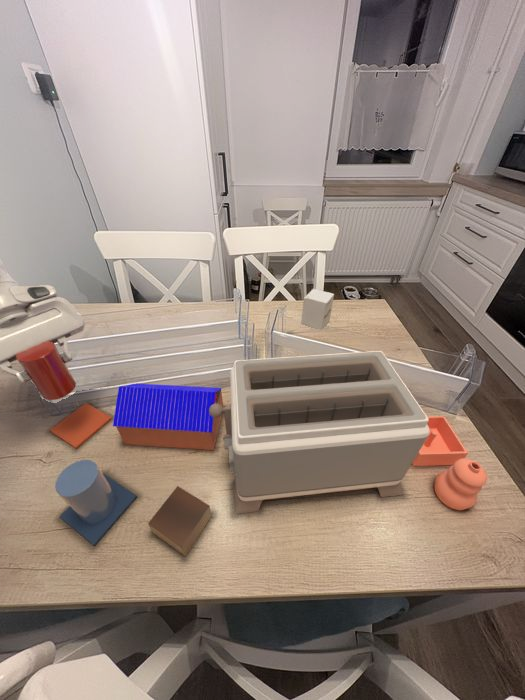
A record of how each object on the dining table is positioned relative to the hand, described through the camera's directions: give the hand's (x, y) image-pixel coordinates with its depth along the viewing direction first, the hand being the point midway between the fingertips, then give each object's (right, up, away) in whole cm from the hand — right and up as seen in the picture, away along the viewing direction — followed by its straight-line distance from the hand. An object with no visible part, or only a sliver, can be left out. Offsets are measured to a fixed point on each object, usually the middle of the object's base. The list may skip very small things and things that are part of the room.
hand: (48, 370), depth 55 cm
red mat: (0, -13, +11) cm, 17 cm away
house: (+21, -13, +11) cm, 27 cm away
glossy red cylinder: (-1, -4, +4) cm, 5 cm away
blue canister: (+11, -24, -3) cm, 27 cm away
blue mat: (+11, -24, -3) cm, 27 cm away
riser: (+27, -26, -5) cm, 38 cm away
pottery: (+76, -20, +4) cm, 78 cm away
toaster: (+49, -18, +5) cm, 52 cm away
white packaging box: (+58, +11, +42) cm, 72 cm away
